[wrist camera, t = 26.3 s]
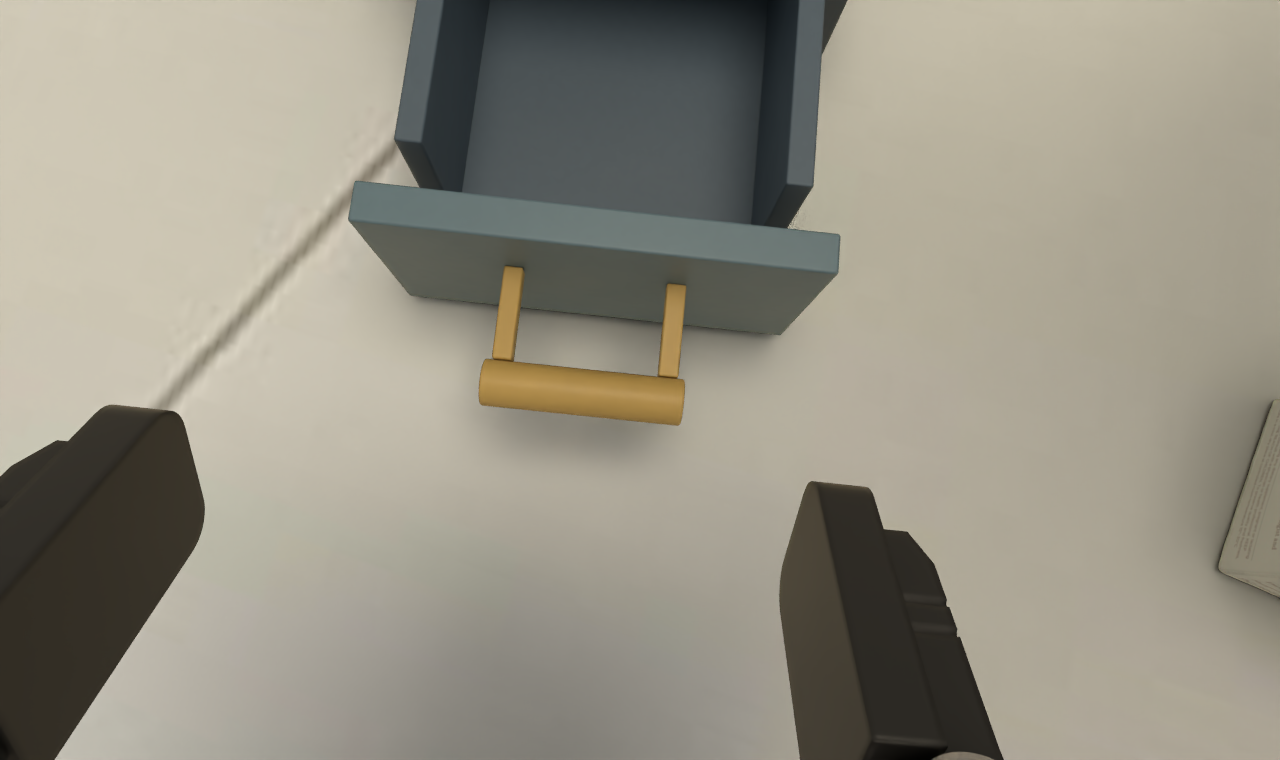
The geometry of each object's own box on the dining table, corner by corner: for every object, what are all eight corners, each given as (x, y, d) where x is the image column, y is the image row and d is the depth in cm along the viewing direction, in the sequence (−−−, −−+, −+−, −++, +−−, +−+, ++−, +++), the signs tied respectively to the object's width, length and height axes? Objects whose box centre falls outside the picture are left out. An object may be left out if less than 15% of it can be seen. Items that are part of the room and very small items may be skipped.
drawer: (773, 452, 29) (830, 427, 22) (390, 413, 29) (320, 374, 21) (804, 3, 32) (862, -148, 25) (460, -38, 32) (419, -204, 25)
